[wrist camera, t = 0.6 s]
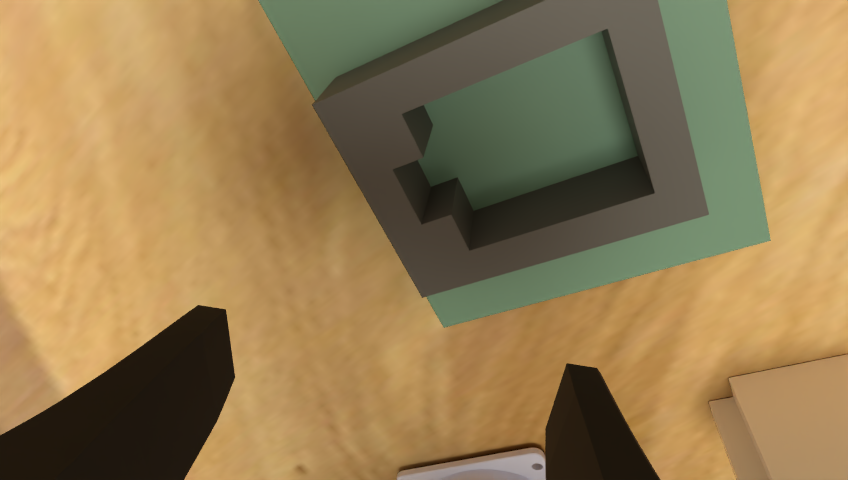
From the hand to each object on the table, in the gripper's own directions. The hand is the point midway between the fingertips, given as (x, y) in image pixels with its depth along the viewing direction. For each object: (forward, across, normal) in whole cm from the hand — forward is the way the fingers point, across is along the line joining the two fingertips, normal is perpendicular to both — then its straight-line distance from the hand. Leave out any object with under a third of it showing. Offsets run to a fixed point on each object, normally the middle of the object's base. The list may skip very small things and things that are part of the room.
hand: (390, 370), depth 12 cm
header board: (+10, -3, -3) cm, 10 cm away
